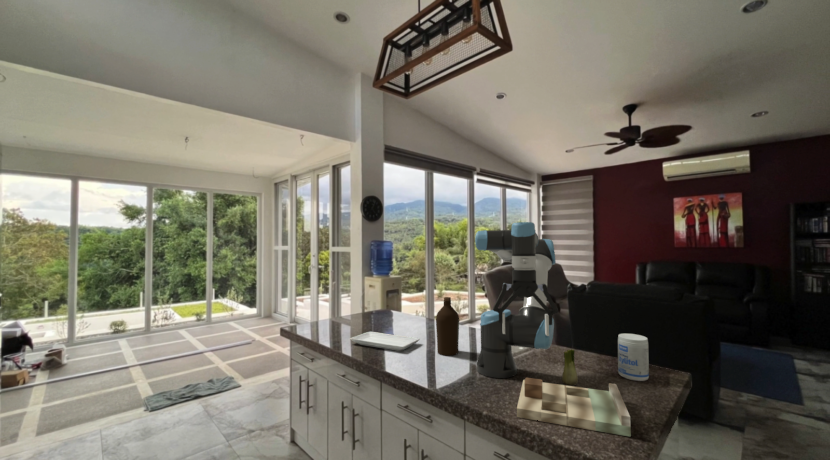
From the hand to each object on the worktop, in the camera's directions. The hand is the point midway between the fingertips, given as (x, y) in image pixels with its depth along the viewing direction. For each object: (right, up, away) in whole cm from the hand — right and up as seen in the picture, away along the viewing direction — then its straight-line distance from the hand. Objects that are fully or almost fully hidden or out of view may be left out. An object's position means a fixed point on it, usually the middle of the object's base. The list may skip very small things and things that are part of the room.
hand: (525, 334), depth 113 cm
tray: (-51, -23, +58) cm, 80 cm away
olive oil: (-21, -22, +44) cm, 54 cm away
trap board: (+10, -19, -10) cm, 24 cm away
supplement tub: (+45, -20, +14) cm, 51 cm away
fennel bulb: (+18, -20, +8) cm, 28 cm away
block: (+1, -17, -6) cm, 18 cm away
